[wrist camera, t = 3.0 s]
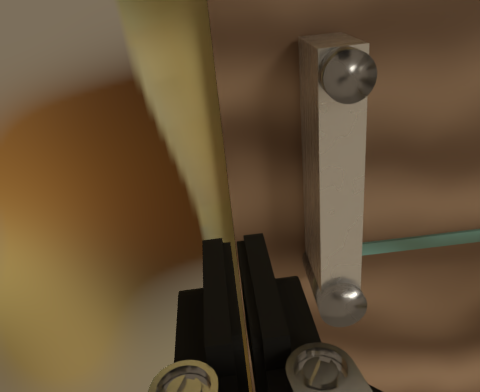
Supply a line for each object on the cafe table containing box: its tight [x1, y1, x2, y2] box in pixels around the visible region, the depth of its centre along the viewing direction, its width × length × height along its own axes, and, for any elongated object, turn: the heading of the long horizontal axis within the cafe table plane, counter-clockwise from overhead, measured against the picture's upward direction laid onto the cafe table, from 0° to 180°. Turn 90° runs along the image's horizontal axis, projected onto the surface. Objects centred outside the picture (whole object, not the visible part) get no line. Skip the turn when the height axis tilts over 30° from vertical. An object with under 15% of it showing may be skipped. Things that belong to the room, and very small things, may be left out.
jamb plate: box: [207, 0, 480, 392], centre depth 25 cm, size 30×20×6 cm, turn 5°
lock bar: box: [298, 32, 377, 327], centre depth 21 cm, size 14×2×5 cm, turn 5°
